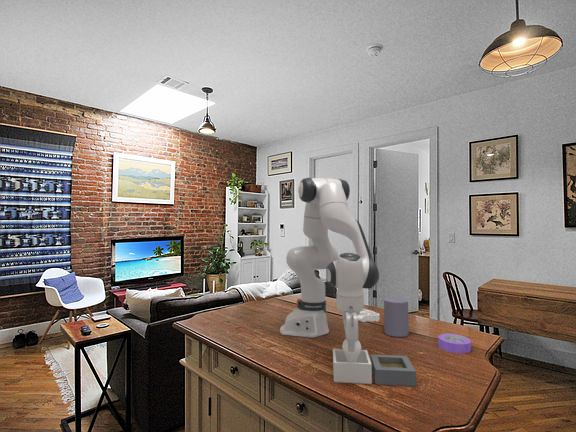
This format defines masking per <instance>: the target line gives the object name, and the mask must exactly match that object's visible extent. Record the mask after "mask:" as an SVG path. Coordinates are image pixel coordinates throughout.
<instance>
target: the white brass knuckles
mask: <svg viewBox="0 0 576 432" xmlns="http://www.w3.org/2000/svg"><path fill="white" fill-rule="evenodd" d="M380 316H381V315H380V313H379V312H378V313H377V312H375V311H373V310H369V309H367V308H364V309H363V310H362V311H360V314H359V315H358V316H357V317H358V322H361V323H366V322H374V321H376V322H379V321H380Z"/></svg>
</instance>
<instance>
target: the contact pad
mask: <svg viewBox="0 0 576 432" xmlns="http://www.w3.org/2000/svg"><path fill="white" fill-rule="evenodd" d="M380 365H381V367H390V368H403V367H402V365H401V364H395V363H380Z"/></svg>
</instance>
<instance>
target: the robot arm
mask: <svg viewBox="0 0 576 432" xmlns="http://www.w3.org/2000/svg"><path fill="white" fill-rule="evenodd" d="M297 190H298V198H299V199H300V200H301V202H303V203H305V207H304V213H303V215H304V216H303V227H302V232H303V234H304V235H305V236H306V238H308V239H310V240H311V241H312V242H311V243H312V245H309V246H297V247H293V248H290V249H289V250H288V252H287V253H286V258H285V259H286V264H287V266H288V268H289V269H290V270H291V271H293V272H294V274H296V275H297V277H298V280H299V285H300V293H301V294H300V295H301V296H300V297H301V298H297V299H296V308H295V309H294V310H292V311H291V312H290V313H289V314H287V316H286V318H285V321H284V324H282V325H281V326H280V328H279V332H280V334H281V335H282V336H284V335H285V336H292V337H293V336H294V337H301V338H302V337H303V338H313V339H314V338H316V337H321V336H323V335H327V334H329V332H330V329H329V326H328V320H327V319H328V318H327V314H326V313H327V312H328V311H327V300H326V284H325V282H324V280H322V279H321V278H319V277H317V276H316V272H315V271H316V270H326V273H325V274H326V275H325V276H326V283H327V284H328V285H330V286H331V287H332V288H336V289H337V290H336V309H337V310H338V311H339V312H340V314H341V315H342V321H343V327H344V334H345V339H346V340H347V341H348V351H349V352H354V345H355V342H357V341H358V340H359V321H358V317H357V316H358V315H359V314H360V311H362V310H363V309H365V307H364V305H365V304H364V303H365V296H364V294H365V293H364V289H369V290H370V289H372V288H374V287H375V286H376V284H377V283H378V282H379V279H380V271H379V269H378V266H377V263H376V262H375V260H374V257H373V255H372V252H371V250H370V247H369V244H368V241H367V238H366V236H365V232H364V230H363V228H362V225H361V223H360V221H359V220H357V219H355V218H354V216H353V215H352V214H351V211H350V210H349V205H348V199H349V198H350V193H351V191H350V190H351V188H350V185H349V183H348V181H347V180H344V179H341V178H332V177H313V178H312V177H306V178H302V179H301V180H300V182H299V186H298V189H297ZM328 230H329V231H331V232H333V233H336V234H338V235H339V234H340V235H342V236H344V237H346V238H348V239H349V240H350V241H351V242H352V244H353V246H354V249H355V252H356V253H353V252H343V253H341V254H339V252H338V250H337V249H336V247H334V245H333V244H332V243H331V241H330V237H329V234H328V233H329V232H328Z"/></svg>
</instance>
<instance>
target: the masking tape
mask: <svg viewBox="0 0 576 432" xmlns="http://www.w3.org/2000/svg"><path fill="white" fill-rule="evenodd" d="M437 338H438V339H437V340H438V341H437V342H438V343H437V344H438V348H440V349H441V350H443V351H444V352H450V353H453V354H468V353H470V352H472V340H471V339H470V338H468V337H466V336H463V335H461V334H455V333H442V334H440V335H438V337H437Z"/></svg>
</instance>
